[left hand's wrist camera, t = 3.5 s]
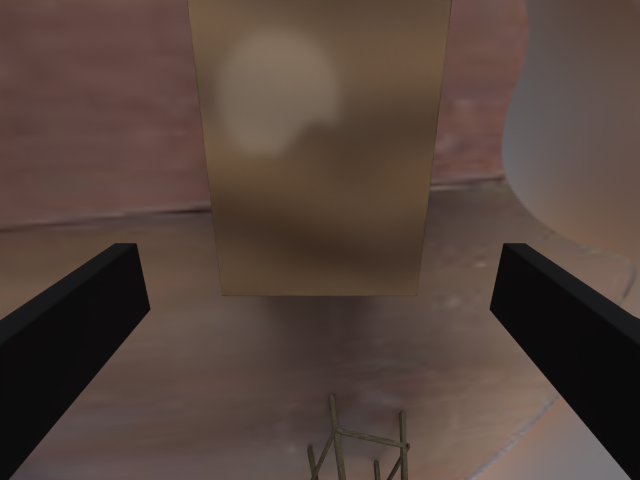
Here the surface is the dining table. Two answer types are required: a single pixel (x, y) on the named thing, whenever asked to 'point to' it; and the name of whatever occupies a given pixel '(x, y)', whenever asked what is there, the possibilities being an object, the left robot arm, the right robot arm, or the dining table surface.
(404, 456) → the miniature windmill
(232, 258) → the cabinet
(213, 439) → the dining table surface
